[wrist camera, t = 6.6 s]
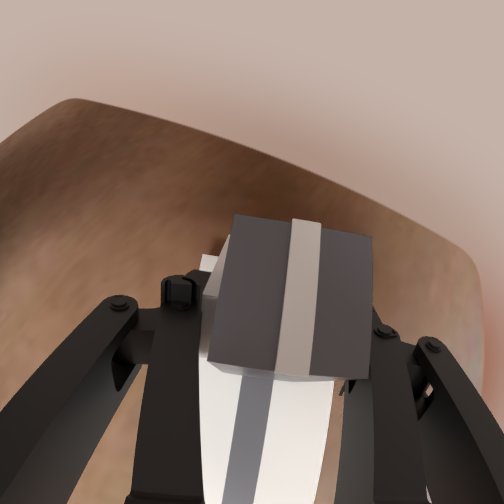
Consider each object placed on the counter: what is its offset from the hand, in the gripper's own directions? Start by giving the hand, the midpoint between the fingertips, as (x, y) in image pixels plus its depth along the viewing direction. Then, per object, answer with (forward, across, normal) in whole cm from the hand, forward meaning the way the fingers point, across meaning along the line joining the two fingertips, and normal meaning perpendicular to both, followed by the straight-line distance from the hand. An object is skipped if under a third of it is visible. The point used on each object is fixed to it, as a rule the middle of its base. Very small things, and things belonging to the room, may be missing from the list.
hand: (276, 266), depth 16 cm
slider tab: (-1, 0, -4) cm, 4 cm away
